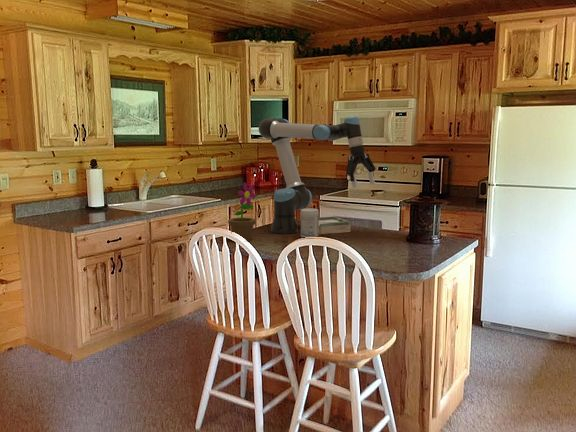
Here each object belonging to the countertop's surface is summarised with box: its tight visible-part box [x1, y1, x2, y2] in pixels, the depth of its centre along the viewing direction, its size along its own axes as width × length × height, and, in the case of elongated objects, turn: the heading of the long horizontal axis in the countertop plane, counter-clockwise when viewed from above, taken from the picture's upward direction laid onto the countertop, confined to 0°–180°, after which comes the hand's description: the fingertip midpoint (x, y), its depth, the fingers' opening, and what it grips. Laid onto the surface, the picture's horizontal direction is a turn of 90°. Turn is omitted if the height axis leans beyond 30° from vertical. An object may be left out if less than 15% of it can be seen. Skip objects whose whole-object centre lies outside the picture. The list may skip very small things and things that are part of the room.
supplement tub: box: [300, 207, 320, 238], centre depth 287 cm, size 10×10×15 cm
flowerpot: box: [227, 182, 257, 242], centre depth 280 cm, size 14×14×30 cm
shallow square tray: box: [319, 215, 352, 235], centre depth 307 cm, size 20×21×6 cm
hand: (364, 185), depth 286 cm, fingers open, 13 cm apart
